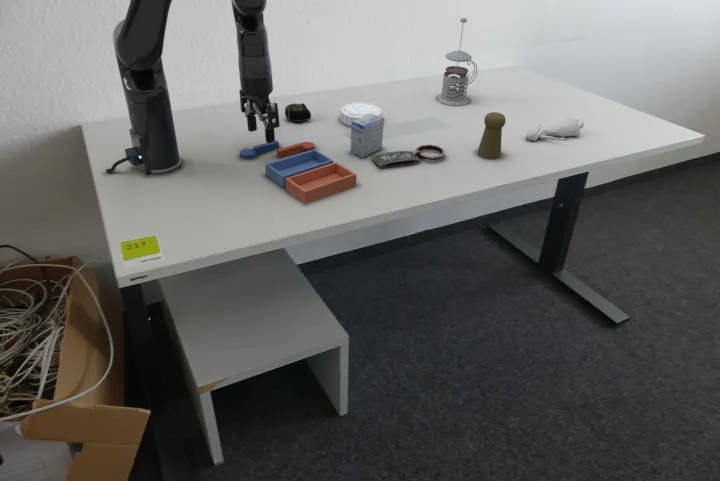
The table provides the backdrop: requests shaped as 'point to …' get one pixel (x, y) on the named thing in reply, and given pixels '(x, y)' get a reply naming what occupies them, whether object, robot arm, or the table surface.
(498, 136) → the olive game pawn
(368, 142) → the medicine box
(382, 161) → the keychain
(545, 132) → the woman figurine
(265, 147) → the blue spoon
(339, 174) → the terracotta tote
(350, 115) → the mooncake
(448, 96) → the french press
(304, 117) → the tape measure
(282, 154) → the terracotta spoon
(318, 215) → the table surface
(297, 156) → the blue tote
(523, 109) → the table surface
